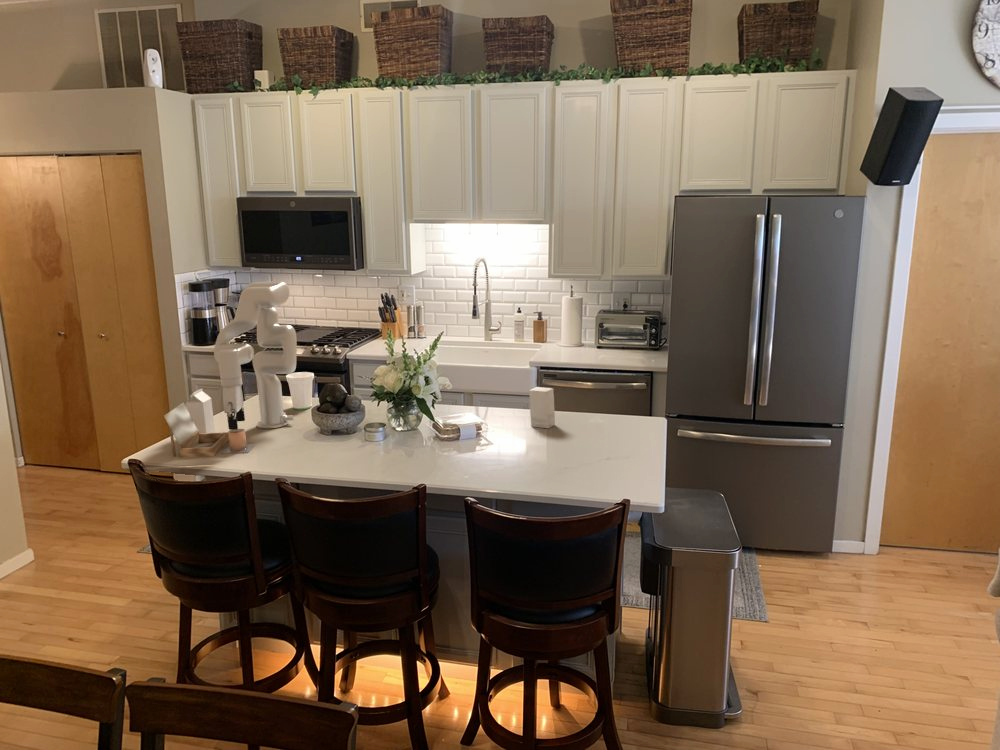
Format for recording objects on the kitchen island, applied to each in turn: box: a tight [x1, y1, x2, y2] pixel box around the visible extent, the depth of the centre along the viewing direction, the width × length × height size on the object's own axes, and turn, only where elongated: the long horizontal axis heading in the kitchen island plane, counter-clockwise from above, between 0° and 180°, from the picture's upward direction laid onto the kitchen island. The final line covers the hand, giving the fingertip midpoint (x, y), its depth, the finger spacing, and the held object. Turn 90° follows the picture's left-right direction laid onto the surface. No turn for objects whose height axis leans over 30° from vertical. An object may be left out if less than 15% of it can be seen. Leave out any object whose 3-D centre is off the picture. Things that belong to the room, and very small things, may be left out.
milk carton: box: [185, 388, 216, 433], centre depth 303 cm, size 7×7×19 cm
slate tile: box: [220, 443, 256, 455], centre depth 285 cm, size 10×10×1 cm
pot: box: [228, 428, 247, 451], centre depth 285 cm, size 6×6×7 cm
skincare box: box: [528, 386, 556, 429], centre depth 306 cm, size 8×7×16 cm
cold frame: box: [163, 402, 229, 458], centre depth 286 cm, size 16×20×16 cm
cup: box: [285, 371, 315, 411], centre depth 345 cm, size 12×12×15 cm
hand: (237, 425), depth 284 cm, fingers open, 9 cm apart
